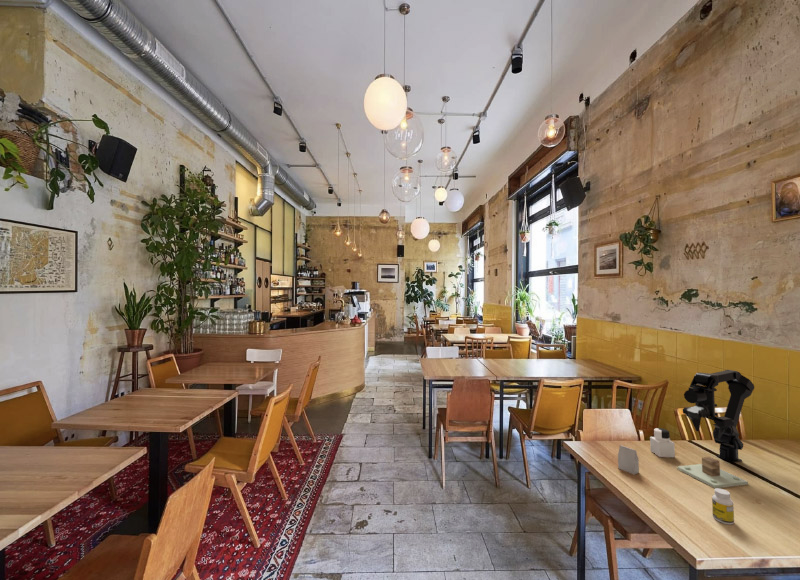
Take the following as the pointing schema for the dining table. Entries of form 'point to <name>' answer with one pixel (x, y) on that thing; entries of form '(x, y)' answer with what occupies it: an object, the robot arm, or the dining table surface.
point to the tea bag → (628, 460)
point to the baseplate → (712, 477)
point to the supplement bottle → (722, 506)
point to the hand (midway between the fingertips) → (707, 434)
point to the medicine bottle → (662, 443)
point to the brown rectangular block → (711, 466)
